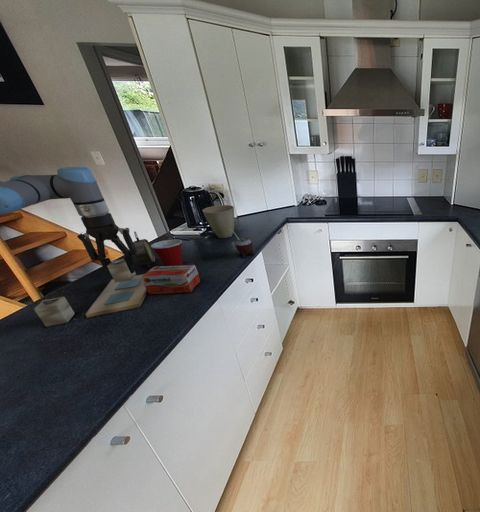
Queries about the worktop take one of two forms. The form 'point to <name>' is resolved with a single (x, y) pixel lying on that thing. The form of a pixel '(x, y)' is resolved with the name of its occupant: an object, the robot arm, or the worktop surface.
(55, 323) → the tile
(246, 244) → the mate gourd
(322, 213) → the worktop surface
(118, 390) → the worktop surface
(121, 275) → the tile
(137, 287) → the beige flat board
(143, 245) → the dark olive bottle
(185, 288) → the medicine box
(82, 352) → the worktop surface
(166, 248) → the plastic cup
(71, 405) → the worktop surface
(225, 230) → the plant pot
